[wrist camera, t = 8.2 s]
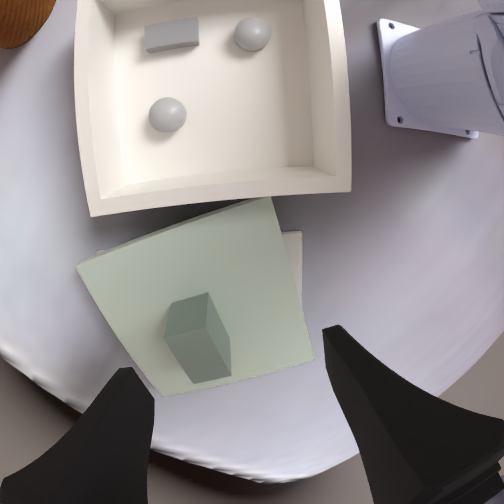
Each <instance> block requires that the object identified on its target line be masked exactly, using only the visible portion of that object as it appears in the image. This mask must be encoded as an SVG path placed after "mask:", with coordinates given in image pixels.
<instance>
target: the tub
mask: <svg viewBox="0 0 504 504" xmlns="http://www.w3.org/2000/svg"><path fill="white" fill-rule="evenodd" d="M74 93H75V111H76V124H77V135H78V144H79V152H80V160H81V167H82V173H83V179H84V185H85V191H86V196H87V202H88V207H89V212H90V216H91V217H95V216H102V215H108V214H115V213H121V212H128V211H136V210H143V209H150V208H158V207H166V206H174V205H183V204H192V203H201V202H211V201H221V200H232V199H243V198H255V197H268V196H282V195H297V194H315V193H337V192H351V170H352V155H351V115H350V95H349V81H348V69H347V58H346V49H345V40H344V32H343V24H342V17H341V11H340V4H339V0H78V4H77V13H76V25H75V43H74Z"/></svg>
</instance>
